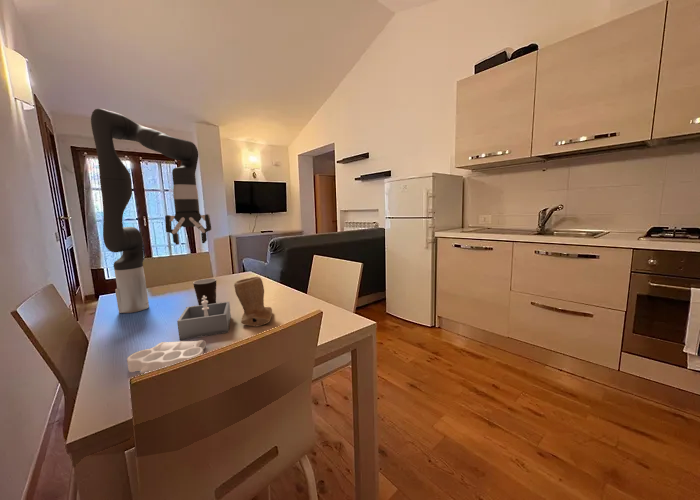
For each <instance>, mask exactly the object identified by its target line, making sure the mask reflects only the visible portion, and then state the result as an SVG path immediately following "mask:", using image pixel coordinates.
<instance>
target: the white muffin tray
mask: <svg viewBox="0 0 700 500" xmlns="http://www.w3.org/2000/svg"><path fill="white" fill-rule="evenodd" d="M206 345H207V344H206V341H205V340H203V339H199V340H194V341H193V340H190V341H189V340H188V341H185V340H179V341H168V342H167V341H162V342H159V343H158V344H156V345H155V346H153V347H150V348H147V349H141V350H139V351H136V352H134V353H131V354H130V355H129V356H127V358H126V362H127V367H128V368H127V369H128V372H129V373H136V372H135V371H141V372H139V374H143V373H145V372H149V371H153V370H156V369H159V368H162V367H165V366H169V365H172V364H175V363H178V362H181V361H184V360H187V359H190V358H193V357H196V356H198V355H201V354H203V353H204V350H205V348H206ZM203 349H204V350H203Z"/></svg>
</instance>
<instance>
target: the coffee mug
mask: <svg viewBox="0 0 700 500" xmlns="http://www.w3.org/2000/svg"><path fill="white" fill-rule="evenodd" d="M192 284H193V288H194V292H195V296H196V300H197V304H198V305H202V303H201V302H202V301H203V300H202V299H201V298H203V296H205V297H207V298H206V299H205V300H207V301H208V304H214V303H217V279H216V278H202V279H198V280H195V281H193V282H192Z"/></svg>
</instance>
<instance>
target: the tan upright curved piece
mask: <svg viewBox="0 0 700 500" xmlns="http://www.w3.org/2000/svg"><path fill="white" fill-rule="evenodd" d="M233 286H234V292H235V295H236V297H237V298H238V300H239V303H240V304H241V307H242V310H243V314H242V318H241V320H240V324H243V325H246V326H249V327H259V326H264V325H266V324H268V323H270V321H271V318H272V315H273V309H272V307H269V306H265V304H264V301H265V299H264V296H265V288H264V287H265V286H264V282H263V280H262V278H261V277H260V276H254V277H253V276H252V277H249V278H243V279H240V280H237V281H235V282H234V285H233Z"/></svg>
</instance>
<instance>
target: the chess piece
mask: <svg viewBox="0 0 700 500" xmlns="http://www.w3.org/2000/svg"><path fill="white" fill-rule="evenodd" d="M206 298H207V297H205V296H203V298H201V299H202V300H203V301H202V302H201V303H202V305H203V308H202V310H204V317H205V316H209V315H208V311H207V309H209V307H207V304H208V301H207V300H205V299H206Z"/></svg>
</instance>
